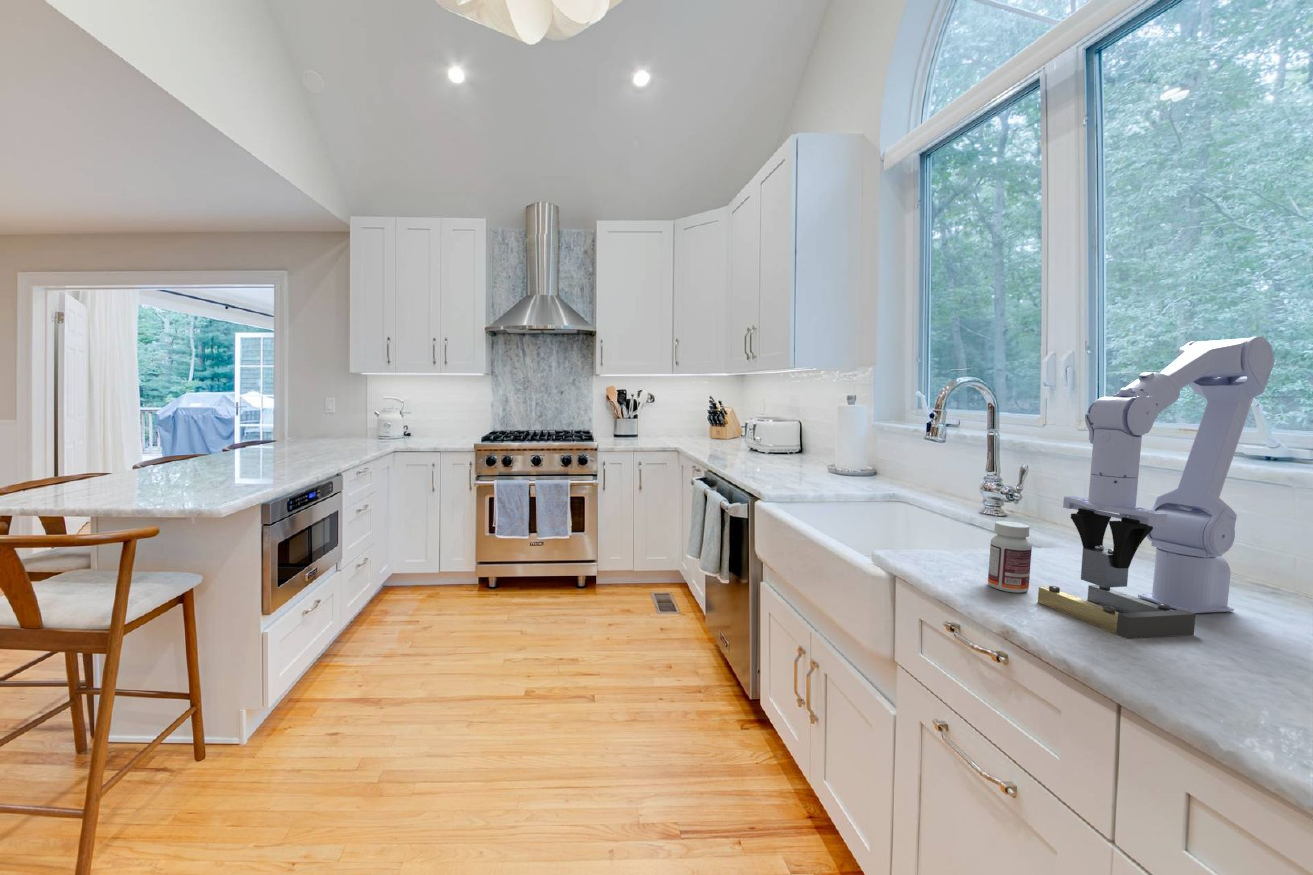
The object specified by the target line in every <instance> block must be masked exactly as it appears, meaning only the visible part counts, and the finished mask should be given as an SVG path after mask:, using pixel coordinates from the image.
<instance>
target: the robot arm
mask: <svg viewBox="0 0 1313 875" xmlns="http://www.w3.org/2000/svg"><path fill="white" fill-rule="evenodd" d="M1178 349H1179V350H1178V353H1177V357H1176V359H1175V360H1173V361H1172V362H1171V363H1170V364H1169V365H1167V366H1166V367H1165V368H1164V369H1162V370H1161V371H1160V372H1153V371H1150V372H1141V373H1140V374H1139V375H1138V376H1137V377H1138V378H1137V379H1136V380H1134V381H1132V382H1131V383H1130V384H1128V385H1127V386H1125V387H1121V388H1120V389H1118V392H1117V393H1115V394H1113V395H1112V396H1102V397H1099V398H1097V399H1096V400H1095V401H1093V402H1092V403H1091V404H1090V405H1089V406H1088V409H1087V413H1085V415H1084V422H1085V425H1086V427H1087V429H1088V433H1089V434H1088V441H1089V443H1090V444H1092V452H1091V463H1090V464H1091V465H1090V476H1089V477H1090V478H1089V488H1088V498H1087V497H1080V496H1074V495H1072V496H1071V495H1069V496H1067V495H1066V496H1065V495H1064V496H1063V503H1062V504H1063V505H1062V508H1065V509H1067V510H1071V509H1072V510H1076V511H1077V512H1076V513H1070V519H1071V521H1072V523H1074V526H1075V528H1076V530H1077V532H1078V534H1079V538H1080V540H1081V544H1082V549H1083V548H1094V545H1101V546H1104V538H1105V533H1106V530H1107V528H1108V525H1109V527H1110V532H1111V535H1112V543H1113V548H1112V549H1113V564H1114V567H1115V568H1119V569H1121V568H1128V569H1129V568H1130V567H1131V566H1130V565H1131V563H1132V562H1133V558H1134V557H1135V555H1136V552H1137V550H1138V549H1139V547H1140V545H1142V543H1143V541H1144V540H1145V538H1146V539H1147V540H1149V542H1151V547H1154V548H1155V557H1154V558H1155V559H1154V569H1153V570H1154V571H1153V578H1152V579H1153V580H1152V581H1153V582H1152V592H1151V593H1138V594H1137V598H1139V599H1142V600H1145V601H1148V602H1151V603H1154V604H1158V603H1164V604H1168V605H1170V609H1172V610H1185V611H1188V612H1191V613H1194V614H1205V613H1222V612H1223V613H1224V612H1234V610H1235V608H1234V607H1230V606H1228V605H1229V604H1228V603H1229V594H1230V593H1229V592H1230V583H1231V582H1230V581H1231V575H1232V574H1231V567H1230V565H1229V563H1228V562H1227V561H1226V559H1225V558H1224V557H1222V556H1223V555H1224V554H1227V552H1228V551H1230V549H1231V548H1232V546H1233V545H1234V542H1235V540H1236V539H1235V537H1236V530H1235V527H1236V522H1237V517H1238V515H1237V513H1236V512H1235V510H1233V508H1232V507H1231V506H1230V505H1229V504H1227V503H1226V502H1225V501H1224V500H1222V499H1221V497H1220V496H1221V494H1222V491H1223V488H1224V485H1225V482H1226V479H1227V476H1228V473H1229V471H1230V468H1231V464H1232V462H1233V459H1234V456H1235V453H1236V449H1237V447H1238V444H1239V441H1240V438H1241V435H1242V432H1243V430H1244V427H1245V424H1246V421H1247V419H1248V416H1249V412H1250V409H1251V407H1252V404H1253V401H1254V398H1256V397H1258V396H1259V395H1263V394H1264V392H1265V390H1266V387H1267V385H1268V383H1269V382H1268V381H1269V379H1270V376H1271V373H1272V371H1273V368H1274V365H1275V355H1274V351H1273V346H1272V345H1271V343H1270V341H1268V340H1267V338H1265V337H1263V336H1260V335H1259V336H1252V337H1248V338H1247V337H1246V338H1235V339H1234V338H1232V339H1218V340H1205V341H1198V340H1192V341H1189V342H1187V343H1186V344H1184V346H1181V347H1180V348H1178ZM1188 385H1189V386H1190V388H1191V390H1192V391H1193V393H1194V394H1196V395H1197V396H1200V397H1202V398H1204V399H1206V401H1207V402H1206V403H1207V404H1206V405H1205V409H1204V412H1203V414H1202V417H1201V420H1200V423H1199V426H1198V428H1197V431H1196V434H1195V437H1194V440H1193V444H1192V446H1191V448H1190V452H1189V454H1188V458H1187V461H1186V463H1185V466H1184V468H1183V472H1182V475H1181V478H1180V479H1179V483H1178V486H1177V488H1175V489H1173V490H1171V491H1168V492H1166V493H1164V494H1162V495H1159V496H1158V497H1156V499H1155V502H1154V503H1153V506H1152V507H1151V509H1148V508H1145V507H1141V506H1137V496H1138V487H1139V486H1138V485H1139V472H1140V461H1141V450H1142V441H1143V440H1142V439H1143V435H1145V434H1148V433H1149V432H1151V430H1152V428H1153V426H1154V423H1155V421H1156V419H1158V416H1159V414H1160V413H1162V412H1163V411H1164V410H1166V409H1168V407H1170V406H1171V405H1173V404H1174V403H1176V402H1177V401H1178V399H1179V398H1180V395H1181V389H1183V388H1185V387H1186V386H1188ZM1116 513H1117V514H1116ZM1112 518H1113V519H1114V518H1115V519H1119V520H1111V519H1112Z"/></svg>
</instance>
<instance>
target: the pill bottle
mask: <svg viewBox="0 0 1313 875" xmlns="http://www.w3.org/2000/svg"><path fill="white" fill-rule="evenodd" d="M993 531H994V532H993V533H995V535H994V536H992V537H991V539H990V543H989V544H990V545H989V546H990V547H989V561H988V575H987V584H988V585H989V586H990V587H992V588H994V589H997V590H999V591H1003V592H1007V593H1020V594H1021V593H1026V592H1028V591H1029V589H1030V574H1031V564H1032V563H1031V562H1032V561H1031V560H1032V551H1033V550H1032V549H1033V546H1032V543H1031V541H1030V540H1029V539H1027V538H1028V537H1030V526H1029V525H1028V524H1025V523H1021V522H1015V521H1007V520H1006V521H1005V520H998V521H995V522H994V530H993ZM996 534H997V535H996Z"/></svg>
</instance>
